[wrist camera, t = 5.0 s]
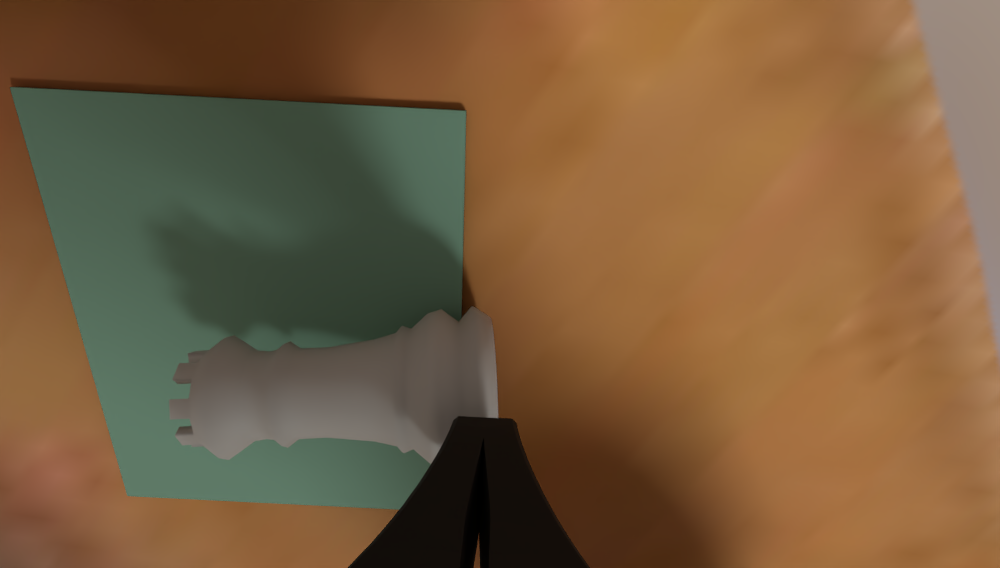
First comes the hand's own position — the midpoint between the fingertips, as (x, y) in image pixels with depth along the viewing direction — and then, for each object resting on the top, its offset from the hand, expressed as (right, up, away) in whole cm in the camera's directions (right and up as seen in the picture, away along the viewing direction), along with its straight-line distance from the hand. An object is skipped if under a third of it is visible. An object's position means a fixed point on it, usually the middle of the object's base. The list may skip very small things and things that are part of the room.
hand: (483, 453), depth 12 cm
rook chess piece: (0, +1, +3) cm, 3 cm away
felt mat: (-7, +2, +5) cm, 9 cm away
